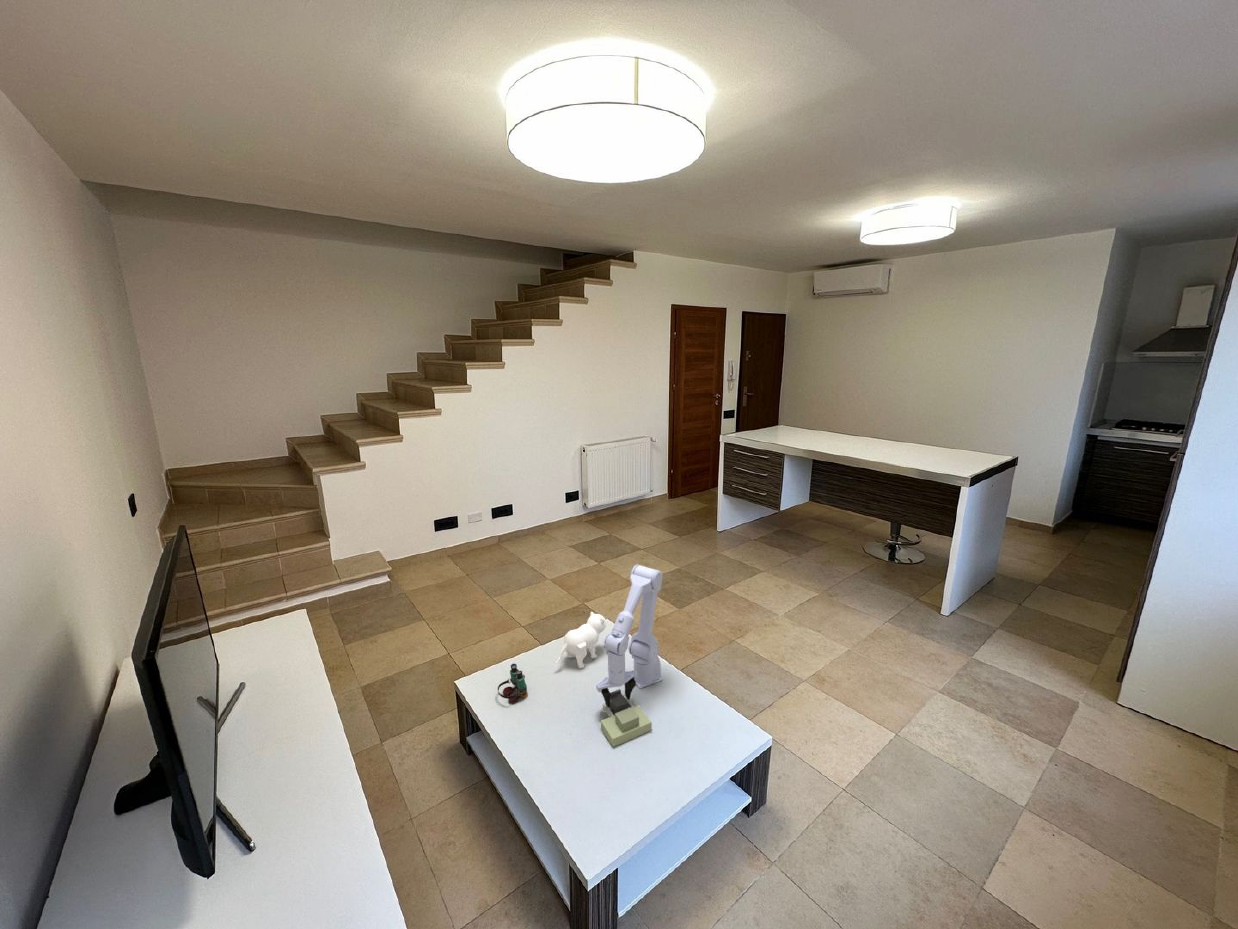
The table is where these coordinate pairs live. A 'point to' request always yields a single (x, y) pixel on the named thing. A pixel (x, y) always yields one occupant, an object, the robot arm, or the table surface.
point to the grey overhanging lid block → (618, 701)
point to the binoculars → (515, 685)
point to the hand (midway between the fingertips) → (617, 701)
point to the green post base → (625, 724)
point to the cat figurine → (583, 639)
